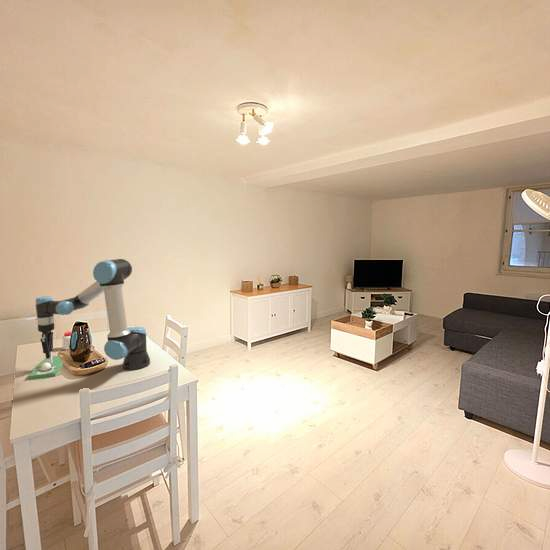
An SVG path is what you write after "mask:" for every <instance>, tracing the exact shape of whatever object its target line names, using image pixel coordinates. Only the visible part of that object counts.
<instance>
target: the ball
mask: <svg viewBox="0 0 550 550" xmlns="http://www.w3.org/2000/svg"><path fill="white" fill-rule="evenodd" d="M50 368H51V364H50V363H44V364H42V366H41V369H42V370H44V371H45V372H47V370H49V369H50Z"/></svg>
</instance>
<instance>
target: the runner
mask: <svg viewBox="0 0 550 550" xmlns="http://www.w3.org/2000/svg"><path fill="white" fill-rule="evenodd" d="M59 355H60V354H58V355H52V361H53V362H52V363H50V364H51V368H50V369H49V370H47V371H44V370H42V369H41V366H42V364H44V363H46V357H44V359H43V360H42V361H41V362H40V363H39V365H37V367H36V368H34V370H33V371H32V372H30V373H29V375H28V380H29V381H31V380H38V379H43V378H45V379H47V378H52V377H54V378H55V377H56V376H57V374H59V372H60V371H61V369H62V368H63V367H64V365H63V362H62V360H61V359H60V357H59ZM62 366H63V367H62Z"/></svg>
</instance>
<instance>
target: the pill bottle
mask: <svg viewBox="0 0 550 550" xmlns="http://www.w3.org/2000/svg"><path fill="white" fill-rule="evenodd" d="M71 332H72V331H66V332H64V333H63V335H62V337H61V338H62V339H61V340H62V350H63V349H68V348H69V342H70V336H71Z"/></svg>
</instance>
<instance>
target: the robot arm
mask: <svg viewBox="0 0 550 550" xmlns="http://www.w3.org/2000/svg"><path fill="white" fill-rule="evenodd" d="M132 272H133V267H132V264H131V262H129V261H128V260H126V259H125V258H116V259H106V260H102V261H99V262H98V263H96V265H94V267H93V270H92V276H93V278H94V280H96V281H95V282H93V283H92V284H90V285H89V286H88V287H86V288H85V289H84V290H82V291H81V292H80V293H78V294H77V295H76V296H74V297H71V298H67V299H63V300H53V298H52V296H48V295H46V296H39V297H36V299H35V311H36V321H37V331H38V332H40V333H41V338H40V339H39V340H40V342H41V347H42V351H43V352H42V353H43V354H45V355H44V357H45V358H46V363H52V362H53V361H52V356H53V351H54V332H53V331H54V330H55V318H54V315H61V316H64V315H66V316H67V315H70V314H72V313H73V312H74V311H77V310H81V309H84V308H87V307H88V306H89V305H90V303H91V302H92V301H94V300H95V299H96V298H98V297H100V295H102V294H103V293H104V300H105V301H104V302H105V307H106V313H107V321H108V329H109V332H108V334H107V336H106V337H107V341H106V342H105V344H104V345H103V346H104V347H103V350H104V353H105V355H106V356H107V357H108V358H109V359H111V360H114V361H118V360H122V359H123V361H122V368H123V369H125V370H128V371H133V370H134V371H135V370H142V369H144V368H146V367H148V366H150V364H151V358H150V356H149V353H148V350H147V330H146V328H145V327H143V326H130V327H128V326H127V318H126V311H125V310H126V309H125V304H124V303H125V302H124V297H123V288H122V287H123V286H124V285H125V280H126V279H128V278H129V277H130V276H131V274H132Z"/></svg>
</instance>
